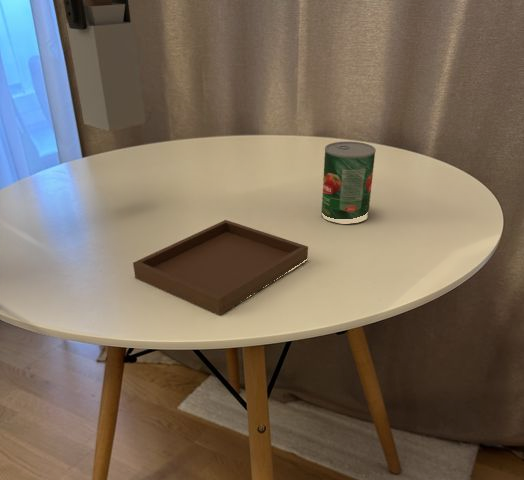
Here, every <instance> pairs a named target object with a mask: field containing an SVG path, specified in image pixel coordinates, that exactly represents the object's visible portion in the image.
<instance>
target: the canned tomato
mask: <svg viewBox="0 0 524 480" xmlns="http://www.w3.org/2000/svg"><path fill="white" fill-rule="evenodd" d="M376 151H377V150H376V148H375V147H374V146H373V145H372V144H368V143H366V142H359V141H347V140H345V141H336V142H331V143H329V144H327V145H325V146H324V162H323V163H324V164H323V177H322V178H323V179H322V180H323V181H322V197H321V212H322V213H323V214H324V215H325V216H327V217H330V218H334V219H353V218H357V217H360V216H363V215H365V214H366V213H367V212H368V211H369V212H370V202H371V193H372V184H373V174H374V167H375V158H376V157H375V155H376ZM369 212H368V213H369Z"/></svg>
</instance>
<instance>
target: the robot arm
mask: <svg viewBox="0 0 524 480" xmlns="http://www.w3.org/2000/svg"><path fill="white" fill-rule="evenodd" d="M112 3H116V4H125V10H124V18H123V22H130V23H132V21H131V15H130V4H129V0H112ZM63 6H64V12H65V18H66V20H67V23H68V24H69V27H70V28H71V29H80V30H84V29H86V28H87V24H86V17H85V11H84V5H83V0H63Z"/></svg>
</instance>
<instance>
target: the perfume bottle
mask: <svg viewBox="0 0 524 480" xmlns="http://www.w3.org/2000/svg"><path fill="white" fill-rule="evenodd" d="M83 5H84V11H85V17H86V24H87V28H86V29H84V30H80V29H71V28H70V27H69V24H68V22H67V23H65V25H66V30H67V35H68V41H69V46H70V51H71V58H72V63H73V68H74V69H73V70H74V75H75V80H76V87H77V92H78V97H79V103H80V107H81V108H80V109H81V113H82V119H83V124H84V125H87V126H90V127H94V128H96V129H100V130H102V131H107V132H114V131H118V130H123V129H128V128H131V127H136V126H141V125H145V124H147V121H146V113H145V112H146V111H145V103H144V95H143V85H142V78H141V77H142V76H141V68H140V60H139V53H138V52H139V51H138V44H137V43H138V41H137V35H136V34H137V33H136V26H135V25H136V24H135V22H131V23H130V22H123V18H124V10H125V4H116V3H112V0H83Z"/></svg>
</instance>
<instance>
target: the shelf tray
mask: <svg viewBox="0 0 524 480" xmlns="http://www.w3.org/2000/svg"><path fill="white" fill-rule="evenodd" d="M307 258H309V246H307V245H305V244H301V243H299V242H295V241H292V240H289V239H286V238H283V237H280V236H277V235H274V234H270V233H269V232H268V233H267V232H265V231H261V230H259V229H256V228H253V227H249V226H246V225H242V224H239V223H237V222H234V221H231V220H228V219H223V220H222V221H220V222H218V223H216V224H213V225H211V226H209V227H207V228H205V229H202V230H201V231H200V230H199V231H198V232H196V233H194V234H192V235H190V236H188V237H185V238H183V239H181V240H179V241H176V242H174V243H172V244H170V245H168V246H166V247H164V248H162V249H159V250H157V251H155V252H153V253H150V254H149V255H146V256H145V257H142V258H139V259H137V260H136V261H134V262H133V261H132V267H133V272H134V278H135V279H137V280H139V281H141V282H144V283H146V284H148V285H150V286H153V287H155V288H157V289H159V290H162V291H164V292H166V293H169V294H170V295H173V296H175V297H178V298H179V299H182V300H183V301H186V302H187V303H191V304H193V305H195V306H197V307H199V308H202V309H204V310H206V311H208V312H211V313H212V314H215V313H216V314H215V315H217V314H218V315H217V316H221V314H222V315H223V314H225V313H227V312H228V311H230V310H232V309H233V308H234V307H233V306H235V305H236V306H238V305H239V304H238V303H240V302H241V301H243V300H244V299H246V298H247V297H249V296H250V295H252V296H254V295H255V294H254V293H256V292H257V291H259V290H260V289H262V288H263V287H265V286H266V285H268V284H270V283H271V282H273V281H274V280H276V279H277V278H279V277H280V276H282V275H284V274H285V273H286V272H288V271H289V270H291V269H292V268H294V267H295V266H297V265H299V264H300V263H302V262H303V261H304V260H306V259H307ZM284 276H285V275H284ZM276 281H277V280H276ZM273 283H274V282H273ZM270 285H271V284H270ZM268 286H269V285H268ZM265 288H266V287H265ZM262 290H263V289H262ZM260 291H261V290H260ZM260 291H259V292H260ZM257 293H258V292H257ZM257 293H256V294H257ZM253 294H254V295H253ZM249 298H250V297H249ZM246 300H247V299H246ZM244 301H245V300H244ZM244 301H243V302H244ZM241 303H242V302H241ZM241 303H240V304H241ZM237 304H238V305H237ZM236 306H235V307H236ZM232 307H233V308H232ZM229 309H230V310H229ZM227 310H228V311H227ZM226 311H227V312H226Z"/></svg>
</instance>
